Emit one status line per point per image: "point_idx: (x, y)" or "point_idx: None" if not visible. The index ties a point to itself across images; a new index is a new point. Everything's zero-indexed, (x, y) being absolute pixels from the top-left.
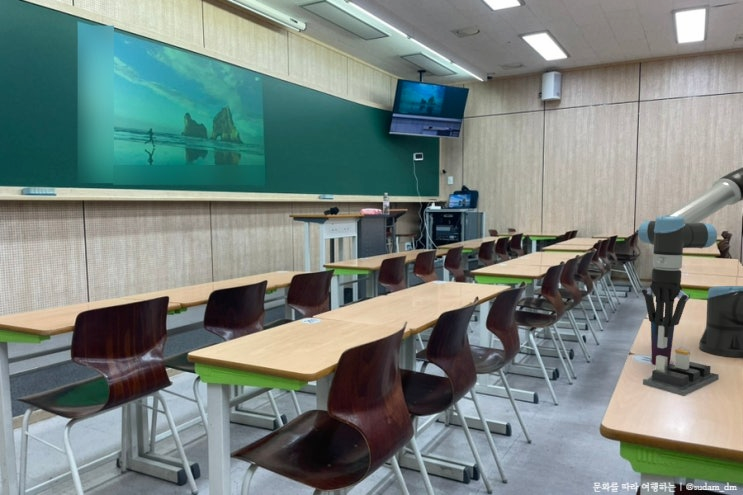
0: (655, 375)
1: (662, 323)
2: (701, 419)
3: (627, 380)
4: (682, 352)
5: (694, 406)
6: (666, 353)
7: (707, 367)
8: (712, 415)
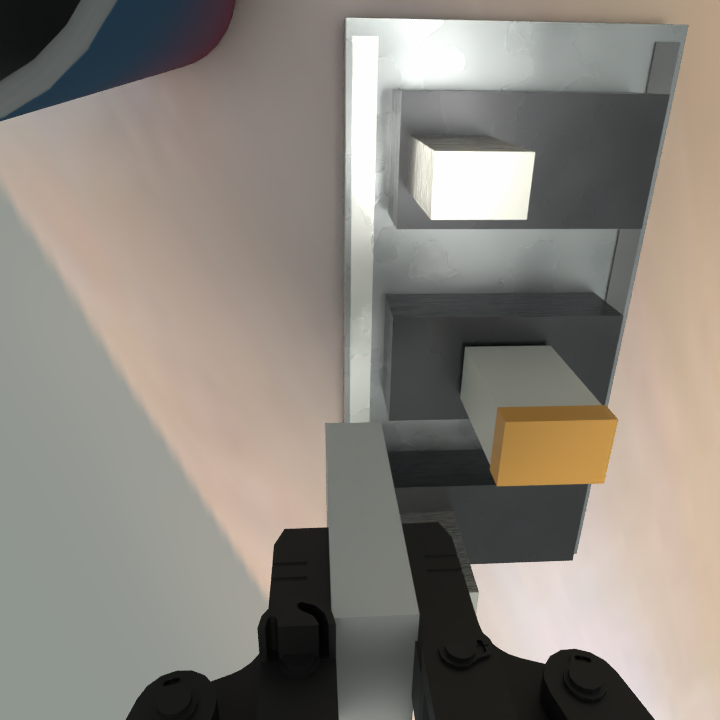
0: None
1: (331, 652)
2: (687, 693)
3: (252, 546)
4: (561, 479)
5: (637, 606)
6: (212, 25)
7: (653, 161)
8: (716, 635)
